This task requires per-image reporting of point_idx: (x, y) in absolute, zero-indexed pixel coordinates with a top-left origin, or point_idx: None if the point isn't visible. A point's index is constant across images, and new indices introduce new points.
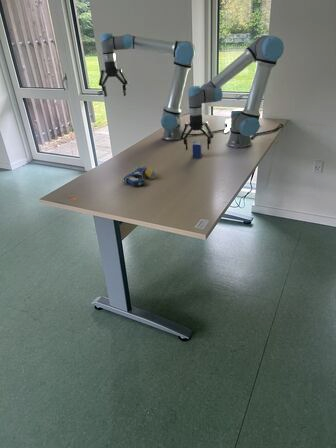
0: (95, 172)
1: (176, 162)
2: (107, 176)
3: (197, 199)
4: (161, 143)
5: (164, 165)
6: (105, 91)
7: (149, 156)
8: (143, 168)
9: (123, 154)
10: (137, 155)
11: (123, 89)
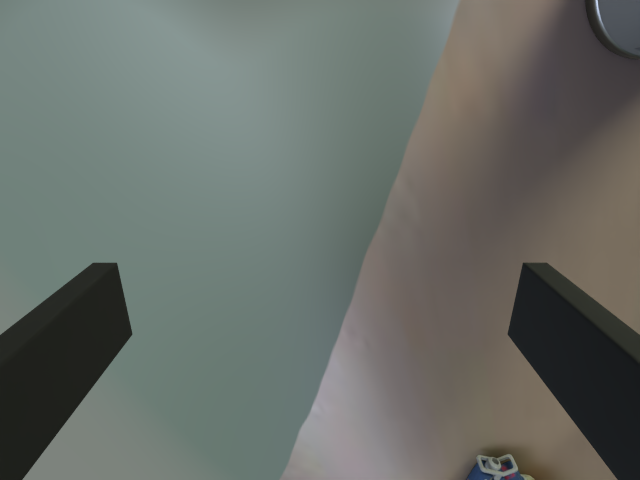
0: (310, 451)
1: None
2: (369, 476)
3: None
4: (567, 108)
5: None
6: (69, 374)
7: (505, 310)
8: (507, 475)
9: (366, 284)
10: (443, 297)
11: (597, 433)
